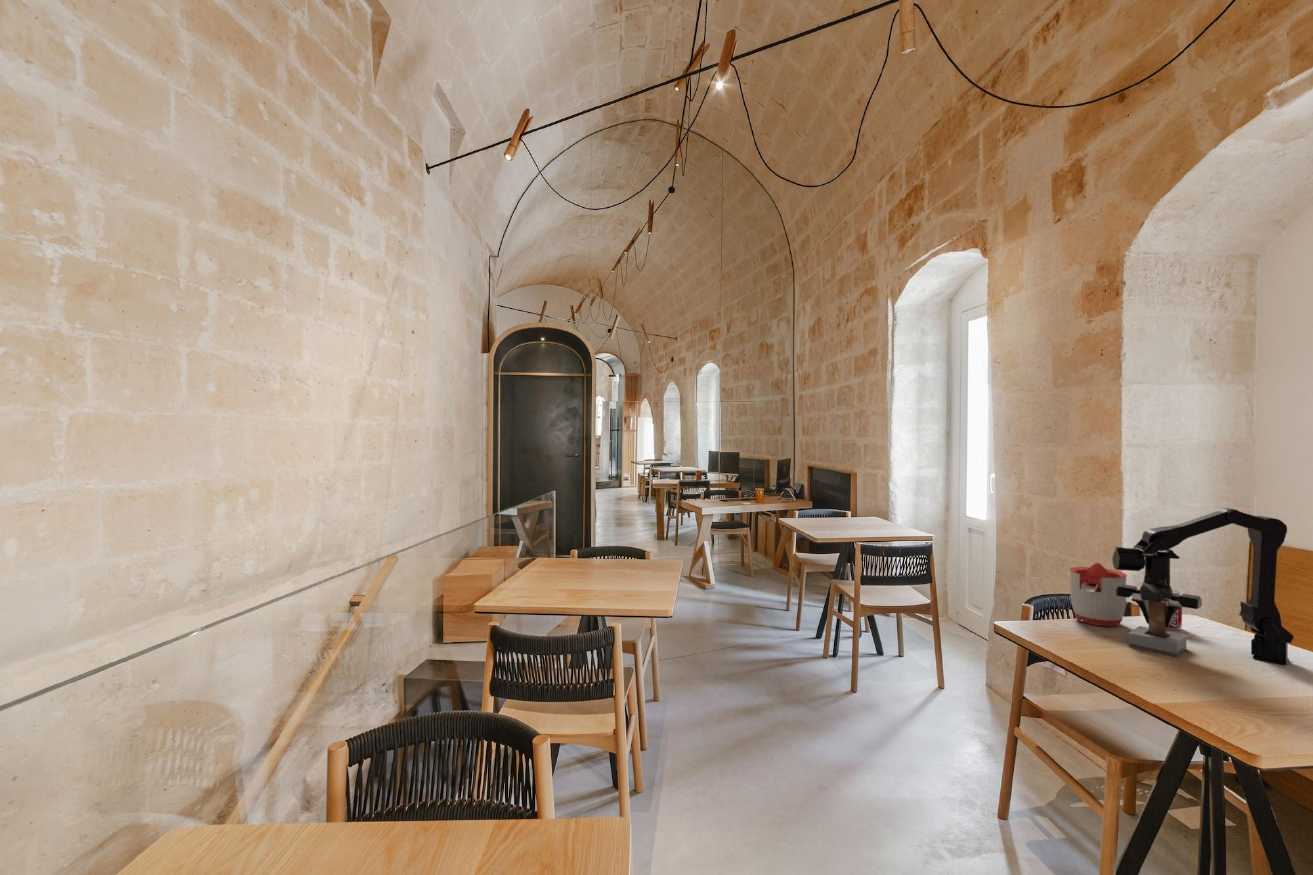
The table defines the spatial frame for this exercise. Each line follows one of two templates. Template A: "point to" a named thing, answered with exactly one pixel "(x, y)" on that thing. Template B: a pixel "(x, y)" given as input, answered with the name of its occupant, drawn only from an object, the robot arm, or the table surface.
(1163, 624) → the pin
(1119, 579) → the citrus juicer
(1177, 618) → the soda can
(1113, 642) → the table surface
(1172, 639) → the socket block
